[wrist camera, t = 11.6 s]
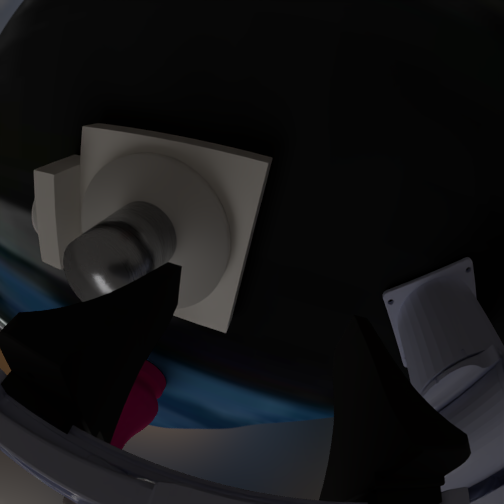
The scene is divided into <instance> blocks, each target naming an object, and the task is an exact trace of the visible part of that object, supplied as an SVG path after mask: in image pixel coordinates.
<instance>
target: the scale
mask: <svg viewBox="0 0 504 504" xmlns="http://www.w3.org/2000/svg"><path fill="white" fill-rule="evenodd" d="M272 159H273V158H272V157H268V156H264V155H261V154H257V153H253V152H249V151H245V150H241V149H237V148H233V147H228V146H224V145H220V144H215V143H211V142H206V141H202V140H197V139H192V138H187V137H182V136H177V135H172V134H166V133H161V132H155V131H149V130H143V129H137V128H131V127H124V126H117V125H110V124H102V123H96V124H91V125H86V126H82V139H81V155H80V156H79V155H73V156H70V157H67V158H64V159H61V160H58V161H56V162H53V163H50V164H48V165H45V166H43V167H40V168H37V169H35V170H34V188H35V199H34V203H33V207H32V223H33V226H34V229H35V230H36V232H37V233H38V235H39V243H40V250H41V257H42V261H43V262H45V263H47V264H49V265H51V266H54V267H56V268H58V269H60V270H62V269H63V268H64V266H63V256H64V252H65V249H66V247H67V246H68V244H69V243H70V242H72V241H73V240H75V239H76V238H77V237H79V236H80V235H82V234H83V233H85V232H86V231H87V230H89V229H90V228H92V227H93V226H95V225H96V224H98V223H99V222H101V221H102V220H104V219H105V218H107V217H108V216H110V215H111V214H113V213H114V212H116V211H117V210H119V209H120V208H122V207H123V206H125V205H127V204H128V203H131V202H134V201H145V202H149V203H151V204H153V205H155V206H157V207H158V208H160V209H161V210H162V211H163V212H164V213H165V214H166V215H167V216H168V218H169V219H170V220H171V222H172V224H173V226H174V229H175V232H176V237H177V245H176V250H175V253H174V255H173V257H172V258H171V259H170V260H169V261H168V262H170V263H173V264H176V265H180V266H182V270H181V279H180V288H179V298H178V305H177V307H176V310H175V312H174V314H173V315H174V316H176V317H179V318H182V319H185V320H188V321H191V322H194V323H197V324H200V325H203V326H206V327H209V328H212V329H215V330H218V331H221V332H224V333H226V332H227V329H228V327H229V324H230V322H231V319H232V316H233V312H234V308H235V304H236V300H237V296H238V292H239V288H240V284H241V280H242V276H243V272H244V268H245V264H246V260H247V256H248V253H249V249H250V245H251V241H252V237H253V233H254V229H255V225H256V221H257V217H258V213H259V209H260V205H261V202H262V198H263V194H264V190H265V186H266V182H267V178H268V174H269V170H270V166H271V163H272Z"/></svg>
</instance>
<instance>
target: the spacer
mask: <svg viewBox="0 0 504 504" xmlns="http://www.w3.org/2000/svg"><path fill="white" fill-rule="evenodd" d="M176 245H177V237H176V232H175V229H174V226H173V224H172V222H171V220H170V219H169V218H168V216H167V215H166V214H165V213H164V212H163V211H162V210H161V209H160V208H158V207H157V206H155V205H153V204H151V203H149V202H145V201H134V202H131V203H128V204H127V205H125V206H123V207H122V208H120V209H119V210H117V211H116V212H114V213H113V214H111V215H110V216H108V217H107V218H105V219H104V220H102V221H101V222H99V223H98V224H96V225H95V226H93V227H92V228H90V229H89V230H87V231H86V232H85V233H83V234H82V235H80V236H79V237H77V238H76V239H75V240H73V241H72V242H70V243H69V244H68V246H67V247H66V249H65V252H64V256H63V266H64V271H65V275H66V278H67V280H68V282H69V284H70V286H71V288H72V289H73V291H74V292H75V294H76V295H77V296H78V297H79V299H80V300H81V301H82V302H84V301H88V300H91V299H94V298H97V297H100V296H102V295H105V294H107V293H110V292H112V291H114V290H116V289H118V288H121V287H123V286H125V285H127V284H129V283H131V282H133V281H135V280H137V279H138V278H140V277H142V276H144V275H146V274H147V273H149V272H151V271H153V270H155V269H156V268H158V267H160V266H162V265H164V264H165V263H167V262H168V261H169V260H170V259H171V258H172V257H173V255H174V253H175V250H176Z"/></svg>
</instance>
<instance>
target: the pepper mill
mask: <svg viewBox="0 0 504 504" xmlns="http://www.w3.org/2000/svg"><path fill="white" fill-rule="evenodd" d="M165 386H166V380H165V377H164V375H163V374H162V372H161V371H160V370H159V369H158V368H157V367H156V366H154V365H153V364H152V363H150V362H148V361H147V360H146V361H145V362H144V364H143V366H142V368H141V370H140V372H139V374H138V376H137V378H136V380H135V382H134V385H133V387H132V389H131V391H130V394H129V396H128V398H127V401H126V403H125V405H124V408H123V410H122V413H121V415H120V418H119V421H118V423H117V426H116V429H115V432H114V435H113V437H112V440H111V443H110V444H111V445H113V446H115V447H117V448H119V449H122V448H123V447H124V445H125V443H126V442H127V441H128V440H129V439H130V438H131V437H132V436H134V435H135V434H136V433H138V432H140V431H141V430H143V429H144V428H145V427H146V426H147V425H149V424H150V423H151V422H152V421H153V419H154V417H155V416H156V414H157V412H158V402H157V398H159V397H160V396H161V394H162V392H163V390H164V388H165ZM63 504H77V503H75V502H73V501H72V500H70V499H68V498H67V497H64V499H63Z"/></svg>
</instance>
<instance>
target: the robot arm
mask: <svg viewBox="0 0 504 504" xmlns="http://www.w3.org/2000/svg"><path fill="white" fill-rule="evenodd" d="M468 267H469V269H468V270H466V269H467V268H468ZM181 270H182V266H180V265H176V264H173V263H170V262H167V263H165V264H164V265H162V266H160V267H158V268H156V269H155V270H153V271H151V272H149V273H147V274H146V275H144V276H142V277H140V278H138V279H137V280H135V281H133V282H131V283H129V284H127V285H125V286H123V287H121V288H118V289H116V290H114V291H112V292H110V293H107V294H105V295H102V296H100V297H97V298H94V299H91V300H88V301H84V302H81V303H77V304H74V305H70V306H66V307H61V308H56V309H50V310H43V311H33V312H19V313H18V314H17V315H16V316H15V317H14V318H13V319H12V320H11V321H10V322H9V323H8V324H7V325H6V326H5V327H4V328H3V329H2V330H1V331H0V349H1V351H2V353H3V355H4V357H5V359H6V361H7V363H8V365H9V367H10V369H11V372H10V373H9V374H8V375H6V374H5V373H4V372H3V371H2V370H1V369H0V450H1V451H2V452H3V453H5V454H6V455H7V456H8V457H9V458H11V459H12V460H13V461H14V462H16V463H17V464H19V465H20V466H21V467H22V468H24V469H25V470H26V471H28V472H29V473H30V474H32V475H33V476H35V477H36V478H37V479H39V480H40V481H42V482H43V483H45V484H46V485H48V486H49V487H51V488H52V489H54V490H55V491H57V492H59V493H60V494H62V495H63V496H65V497H67V498H68V499H70V500H72V501H73V502H75V503H77V504H504V346H503V344H502V342H501V340H500V338H499V337H498V335H497V333H496V331H495V329H494V328H493V326H492V324H491V322H490V321H489V319H488V317H487V315H486V314H485V312H484V310H483V309H482V307H481V305H480V304H479V302H478V301H477V298H476V287H475V278H474V270H473V262H472V260H471V259H470V258H469V257H465V258H463V259H461V260H459V261H456V262H454V263H452V264H450V265H447V266H445V267H443V268H440V269H438V270H436V271H433V272H431V273H428V274H426V275H424V276H421V277H419V278H416V279H414V280H411V281H409V282H406V283H404V284H401V285H399V286H396V287H394V288H391V289H388V290H386V291H385V292H384V293H383V299H384V302H385V305H386V308H387V311H388V314H389V318H390V321H391V324H392V327H393V330H394V334H395V337H396V340H397V344H398V347H399V350H400V354H401V357H402V361H403V365H404V366H405V367H408V372H409V376H410V381H411V383H410V382H409V381H408V379H407V378H406V377H405V375H404V374H403V373H402V371H401V370H400V369H399V367H398V366H397V364H396V363H395V361H394V360H393V358H392V357H391V355H390V354H389V352H388V351H387V349H386V348H385V346H384V344H383V343H382V341H381V339H380V338H379V336H378V335H377V333H376V331H375V330H374V328H373V327H372V325H371V323H370V322H369V321H368V319H367V318H364V317H360V316H356V315H354V316H353V317H352V319H351V321H350V323H349V325H348V327H347V328H346V330H345V332H344V334H343V335H342V337H341V339H340V341H339V342H338V344H337V346H336V348H335V352H334V362H333V391H334V426H333V435H332V443H331V449H330V455H329V461H328V467H327V471H326V475H325V480H324V484H323V488H322V491H321V495H320V499H319V500H307V499H299V498H291V497H283V496H277V495H270V494H265V493H259V492H254V491H249V490H244V489H239V488H235V487H231V486H226V485H222V484H219V483H215V482H211V481H207V480H204V479H200V478H197V477H194V476H190V475H187V474H184V473H181V472H178V471H175V470H172V469H169V468H166V467H164V466H161V465H158V464H155V463H153V462H150V461H148V460H145V459H143V458H140V457H137V456H135V455H133V454H130V453H128V452H126V451H124V450H122V449H119V448H117V447H115V446H113V445H111V444H110V443H111V440H112V437H113V435H114V432H115V429H116V426H117V423H118V421H119V418H120V415H121V413H122V410H123V408H124V405H125V403H126V401H127V398H128V396H129V394H130V391H131V389H132V387H133V385H134V382H135V380H136V378H137V376H138V374H139V372H140V370H141V368H142V366H143V364H144V362H145V361H146V359H147V358H148V356H149V354H150V353H151V351H152V350H153V348H154V347H155V345H156V343H157V342H158V340H159V339H160V337H161V336H162V334H163V332H164V331H165V329H166V328H167V326H168V324H169V323H170V320H171V318H172V316H173V314H174V312H175V310H176V307H177V305H178V298H179V288H180V279H181ZM391 299H392V300H393V301H391V302H388V301H389V300H391Z"/></svg>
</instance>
